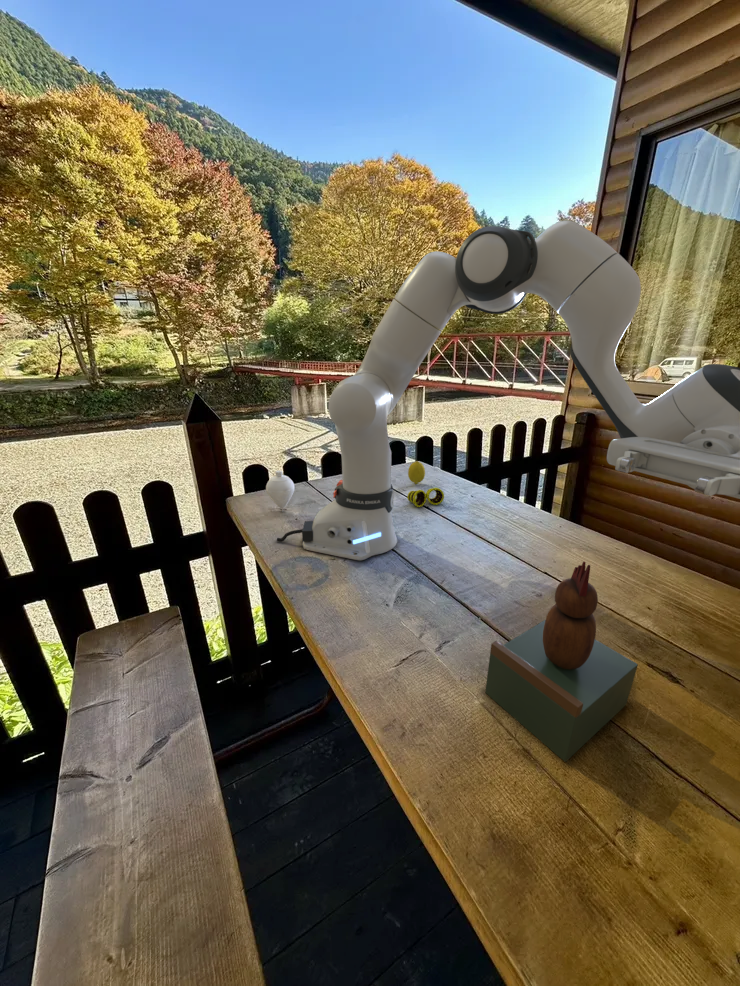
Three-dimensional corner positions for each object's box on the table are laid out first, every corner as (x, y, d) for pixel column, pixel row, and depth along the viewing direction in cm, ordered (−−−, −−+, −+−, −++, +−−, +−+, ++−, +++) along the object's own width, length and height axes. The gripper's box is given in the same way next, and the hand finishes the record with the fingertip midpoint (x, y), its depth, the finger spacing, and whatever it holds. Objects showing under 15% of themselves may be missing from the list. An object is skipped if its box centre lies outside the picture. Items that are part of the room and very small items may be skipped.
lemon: (423, 487, 132) (424, 464, 129) (406, 486, 133) (407, 463, 130) (425, 481, 137) (426, 459, 134) (408, 481, 138) (409, 458, 135)
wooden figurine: (585, 685, 49) (610, 577, 44) (534, 666, 52) (552, 563, 46) (591, 650, 54) (614, 551, 49) (545, 634, 57) (562, 539, 52)
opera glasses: (436, 501, 123) (436, 485, 123) (444, 504, 119) (444, 487, 118) (406, 505, 121) (406, 488, 120) (414, 508, 116) (413, 491, 115)
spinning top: (276, 519, 110) (272, 477, 106) (264, 510, 116) (259, 470, 111) (301, 512, 115) (298, 471, 110) (288, 504, 120) (284, 465, 116)
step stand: (484, 692, 57) (491, 643, 54) (546, 651, 64) (554, 605, 61) (565, 762, 47) (578, 707, 44) (626, 705, 55) (641, 654, 51)
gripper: (642, 423, 64) (586, 434, 58) (825, 454, 47) (773, 473, 41) (633, 462, 66) (578, 476, 60) (804, 505, 49) (752, 530, 43)
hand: (658, 475), depth 50 cm, fingers open, 8 cm apart
